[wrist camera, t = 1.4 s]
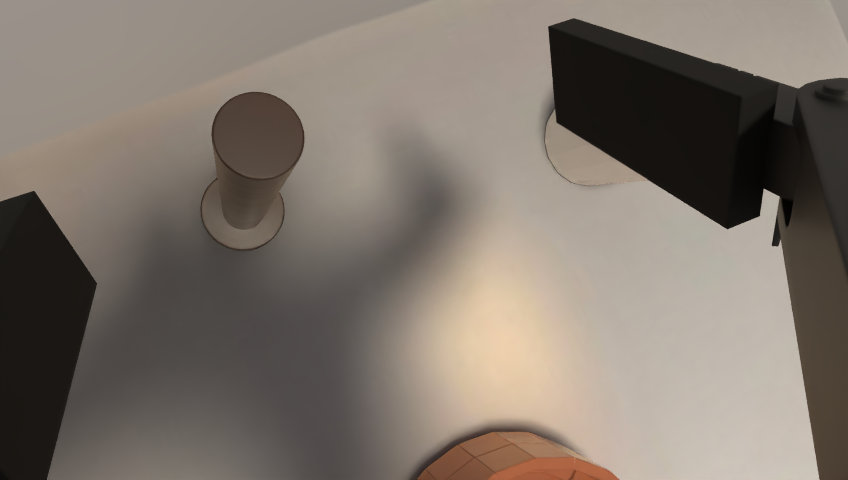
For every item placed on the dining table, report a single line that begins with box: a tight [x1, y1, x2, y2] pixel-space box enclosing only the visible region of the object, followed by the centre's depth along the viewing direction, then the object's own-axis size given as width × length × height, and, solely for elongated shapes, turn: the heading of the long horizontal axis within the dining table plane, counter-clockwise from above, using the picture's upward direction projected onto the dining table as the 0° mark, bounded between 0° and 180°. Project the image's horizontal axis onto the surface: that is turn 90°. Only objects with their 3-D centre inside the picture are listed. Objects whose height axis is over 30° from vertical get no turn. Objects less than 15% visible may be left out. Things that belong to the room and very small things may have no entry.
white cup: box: [545, 109, 648, 186], centre depth 33 cm, size 7×7×7 cm
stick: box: [201, 92, 304, 251], centre depth 21 cm, size 4×4×18 cm
